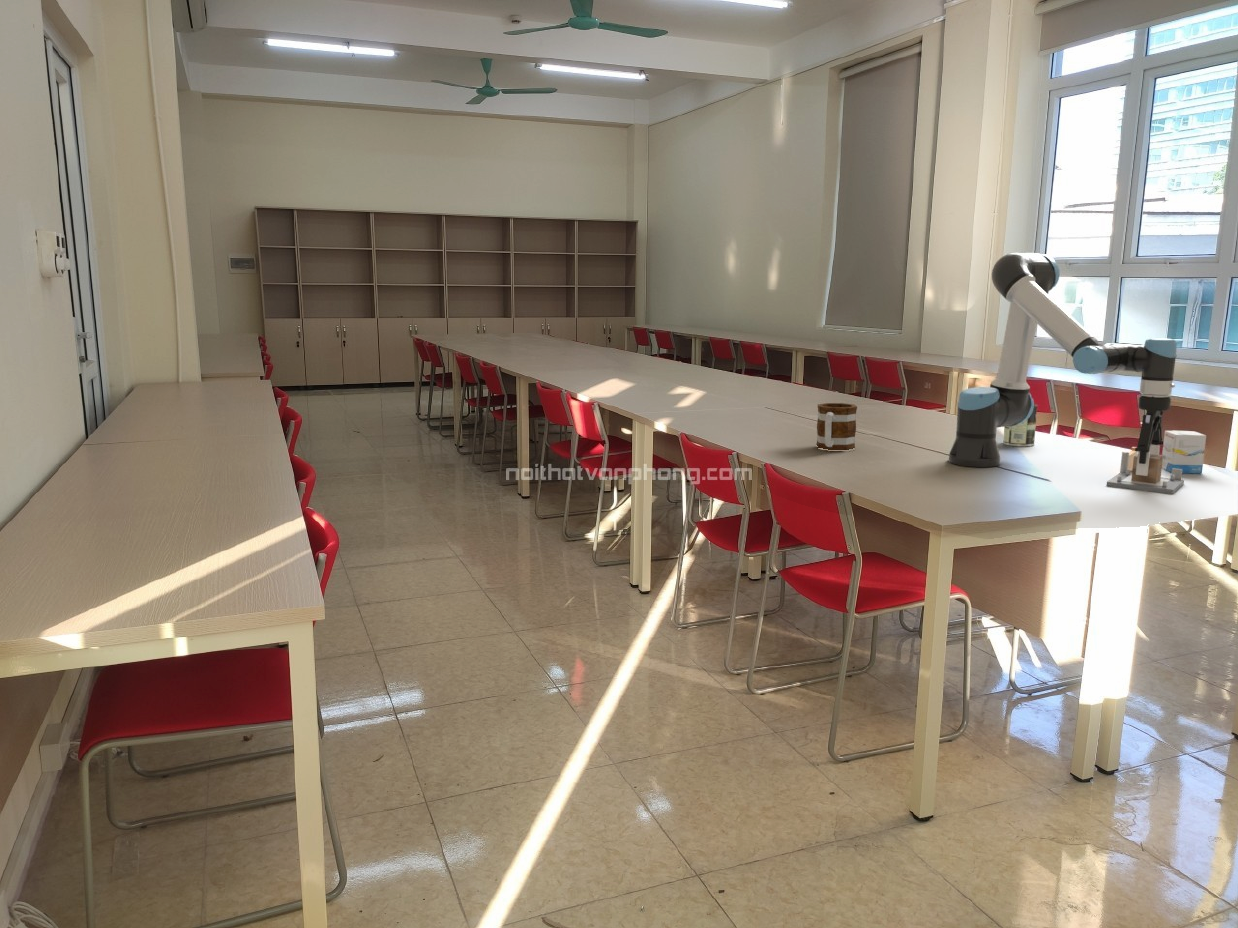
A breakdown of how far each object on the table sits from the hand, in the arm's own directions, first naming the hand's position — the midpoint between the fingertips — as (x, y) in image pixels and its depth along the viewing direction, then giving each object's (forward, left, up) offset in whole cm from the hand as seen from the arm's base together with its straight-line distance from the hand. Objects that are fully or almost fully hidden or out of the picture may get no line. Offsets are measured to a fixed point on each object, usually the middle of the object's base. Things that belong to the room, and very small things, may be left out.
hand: (1146, 471), depth 249 cm
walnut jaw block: (0, 0, -3) cm, 3 cm away
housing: (0, +1, -4) cm, 4 cm away
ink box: (+4, +29, -4) cm, 30 cm away
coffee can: (-48, +46, -4) cm, 67 cm away
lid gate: (-8, +17, -4) cm, 19 cm away
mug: (-93, -5, -4) cm, 93 cm away
